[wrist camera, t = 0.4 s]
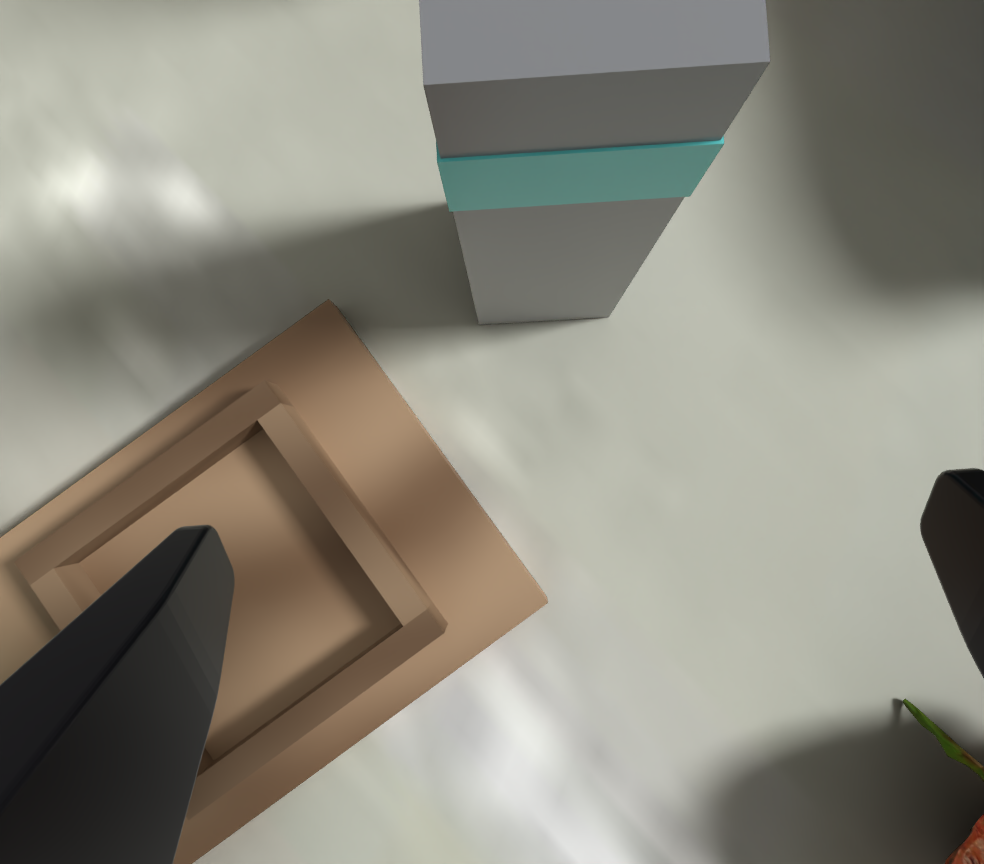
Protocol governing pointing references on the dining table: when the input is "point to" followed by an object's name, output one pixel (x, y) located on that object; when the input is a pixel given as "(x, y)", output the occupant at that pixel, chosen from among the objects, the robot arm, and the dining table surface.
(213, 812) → the tray
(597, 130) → the panel
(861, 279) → the dining table surface
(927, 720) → the pomegranate
